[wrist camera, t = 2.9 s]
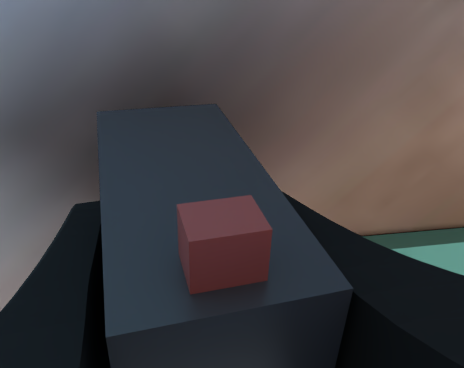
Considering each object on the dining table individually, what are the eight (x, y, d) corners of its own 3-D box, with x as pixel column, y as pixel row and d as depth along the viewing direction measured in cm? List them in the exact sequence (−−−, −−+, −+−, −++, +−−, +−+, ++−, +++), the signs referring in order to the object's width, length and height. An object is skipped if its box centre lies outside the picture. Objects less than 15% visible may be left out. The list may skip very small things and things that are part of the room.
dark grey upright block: (216, 73, 11) (365, 237, 5) (214, 260, 14) (304, 498, 8) (92, 79, 10) (96, 282, 4) (118, 276, 13) (142, 551, 7)
